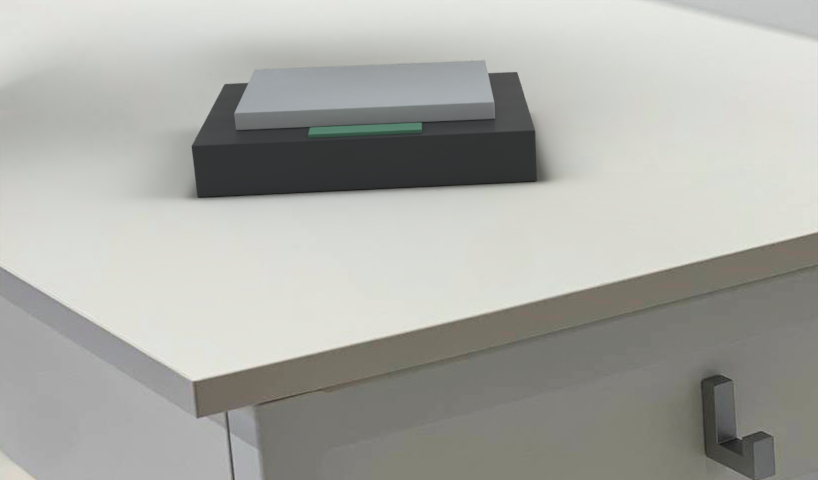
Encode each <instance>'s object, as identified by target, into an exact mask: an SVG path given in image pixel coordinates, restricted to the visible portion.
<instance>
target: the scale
mask: <svg viewBox="0 0 818 480" xmlns="http://www.w3.org/2000/svg"><path fill="white" fill-rule="evenodd" d="M522 86H523V85H522V83H521V79H520V76H519V73H518V72H517V71H507V72H506V71H505V72H504V71H503V72H489V71H488V67H487V62H486V60H485V59H483V60H479V59H478V60H459V61H458V60H455V61H432V62H409V63H408V62H407V63H406V62H405V63H385V64H383V63H381V64H357V65H335V66H334V65H331V66H308V67H307V66H306V67H282V68H257V69H256V68H255V69H254V70H253V72H252V75H251V77H250V78H249V81H248V82H238V83H237V82H236V83H224V84H223V86H222V88H221V90H220V92H219V93H218V96H217V98H216V99H215V101H214V103H213V105H212V107H211V108H210V110H209V112H208V113H207V116H206V118H205V120H204V122H203V124H202V125H201V128H200V130H199V131H198V133H197V135H196V137H195V139H194V141H193V143H192V144H191V154H192V163H193V171H194V172H193V173H194V179H195V189H196V196H197V198H211V197H230V196H231V197H232V196H233V197H234V196H250V195H251V196H252V195H272V194H273V195H275V194H292V193H293V194H295V193H296V194H297V193H314V192H333V191H334V192H335V191H336V192H338V191H356V190H357V191H358V190H377V189H398V188H421V187H440V186H442V187H443V186H462V185H463V186H464V185H481V184H482V185H483V184H501V183H503V184H504V183H505V184H506V183H521V182H522V183H523V182H527V183H528V182H538V168H537V167H538V166H537V142H536V138H537V137H536V129H535V126H534V122H533V119H532V115H531V113H530V110H529V106H528V103H527V99H526V96H525V93H524V89H523V87H522Z"/></svg>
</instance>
